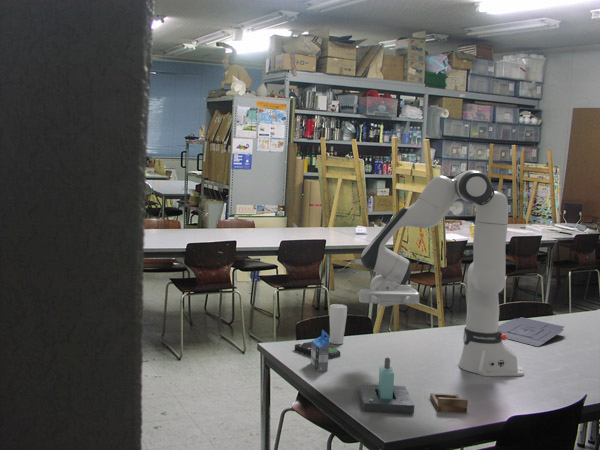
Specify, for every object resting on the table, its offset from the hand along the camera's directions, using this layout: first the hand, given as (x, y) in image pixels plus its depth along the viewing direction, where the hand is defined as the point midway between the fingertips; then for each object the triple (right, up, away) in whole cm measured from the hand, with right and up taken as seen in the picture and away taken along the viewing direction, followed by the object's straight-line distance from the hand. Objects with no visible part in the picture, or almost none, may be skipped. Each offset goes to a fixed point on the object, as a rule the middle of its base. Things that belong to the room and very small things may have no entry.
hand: (391, 301), depth 204 cm
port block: (-4, -28, -16) cm, 33 cm away
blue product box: (-23, -25, +14) cm, 37 cm away
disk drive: (-24, -24, +30) cm, 45 cm away
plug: (-5, -28, -16) cm, 33 cm away
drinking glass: (-16, -22, +45) cm, 52 cm away
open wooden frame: (+14, -29, -16) cm, 36 cm away
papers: (+70, -24, +72) cm, 104 cm away
